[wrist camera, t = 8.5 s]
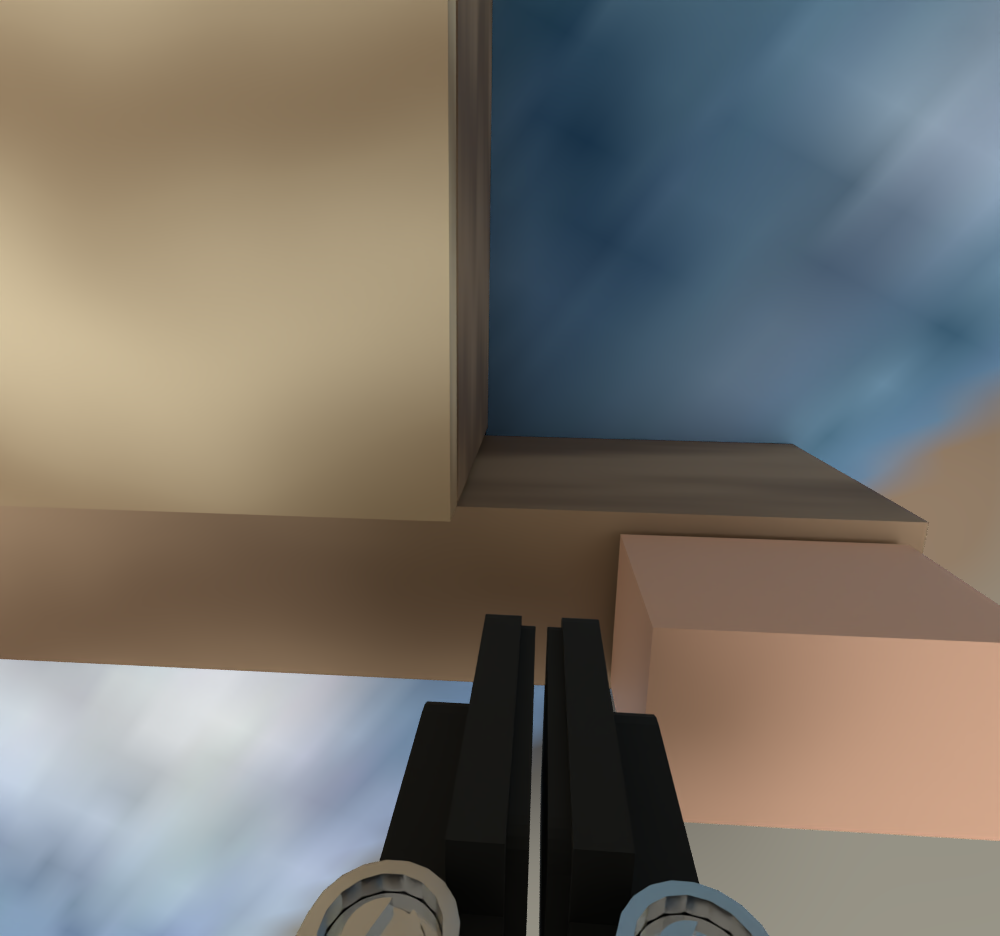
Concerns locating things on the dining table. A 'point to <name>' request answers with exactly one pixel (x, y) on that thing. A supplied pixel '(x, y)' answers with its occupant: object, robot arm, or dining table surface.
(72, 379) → the toolbox lid
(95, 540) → the toolbox
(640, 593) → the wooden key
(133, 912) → the dining table surface
